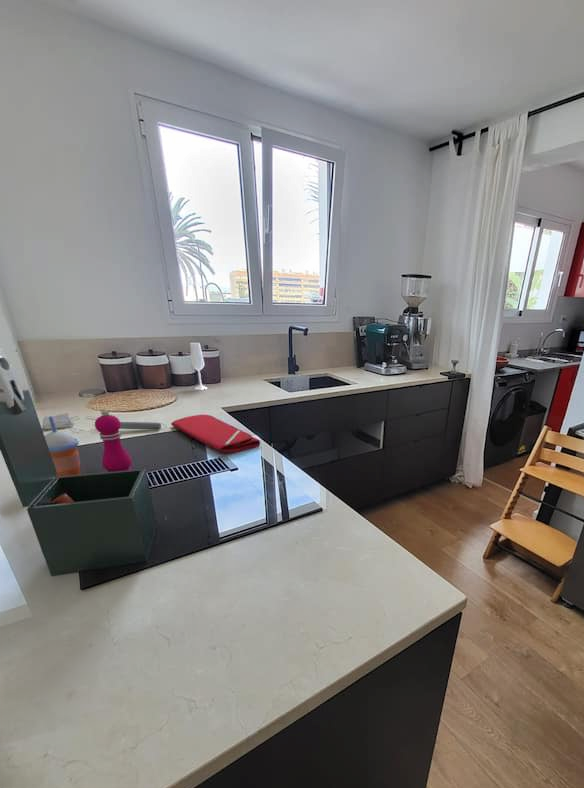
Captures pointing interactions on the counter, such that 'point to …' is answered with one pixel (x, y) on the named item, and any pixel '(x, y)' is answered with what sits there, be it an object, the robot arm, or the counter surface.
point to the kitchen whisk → (130, 425)
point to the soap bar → (57, 421)
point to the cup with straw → (63, 451)
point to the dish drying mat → (216, 433)
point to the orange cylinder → (62, 499)
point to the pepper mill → (112, 443)
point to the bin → (95, 521)
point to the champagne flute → (197, 362)
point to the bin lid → (25, 450)
